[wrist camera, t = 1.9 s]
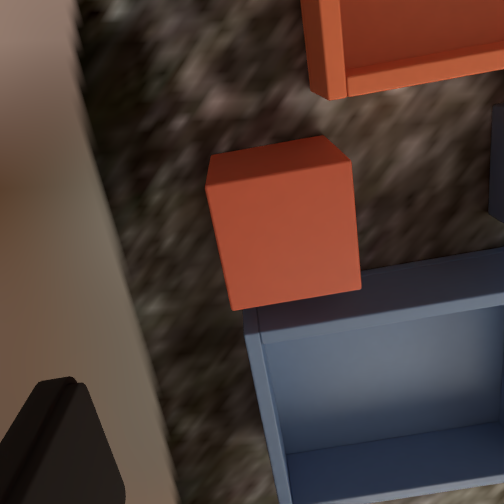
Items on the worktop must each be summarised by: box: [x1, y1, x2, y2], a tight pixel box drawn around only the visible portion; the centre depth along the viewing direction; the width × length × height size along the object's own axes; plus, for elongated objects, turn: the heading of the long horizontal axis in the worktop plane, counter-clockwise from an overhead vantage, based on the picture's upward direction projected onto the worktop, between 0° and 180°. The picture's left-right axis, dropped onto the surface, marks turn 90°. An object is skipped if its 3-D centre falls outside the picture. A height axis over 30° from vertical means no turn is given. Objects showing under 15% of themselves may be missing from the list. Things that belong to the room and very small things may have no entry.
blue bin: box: [243, 247, 504, 504], centre depth 21 cm, size 12×10×4 cm
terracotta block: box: [205, 135, 362, 311], centre depth 17 cm, size 4×4×4 cm
